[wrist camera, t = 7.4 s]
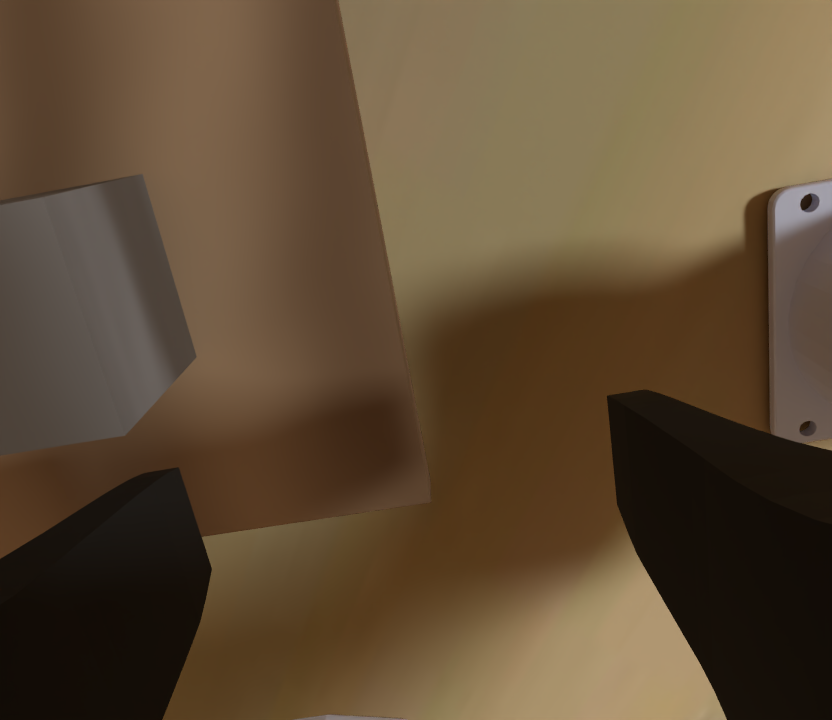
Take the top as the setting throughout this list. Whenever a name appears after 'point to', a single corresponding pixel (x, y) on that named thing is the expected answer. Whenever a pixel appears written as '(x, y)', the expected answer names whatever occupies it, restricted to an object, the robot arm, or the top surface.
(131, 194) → the lid
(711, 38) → the top surface
